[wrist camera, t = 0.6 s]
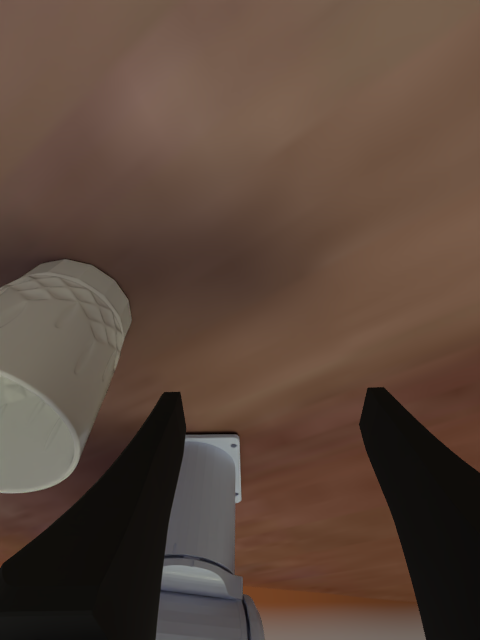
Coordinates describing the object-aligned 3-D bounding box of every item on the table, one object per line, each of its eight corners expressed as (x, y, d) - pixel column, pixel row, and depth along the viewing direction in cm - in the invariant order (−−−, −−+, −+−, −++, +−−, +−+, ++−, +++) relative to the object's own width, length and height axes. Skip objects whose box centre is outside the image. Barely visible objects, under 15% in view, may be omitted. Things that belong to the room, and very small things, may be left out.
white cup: (-5, 313, 22) (-161, 443, 13) (45, 220, 19) (-118, 313, 10) (104, 373, 24) (33, 513, 16) (165, 301, 21) (115, 428, 13)
